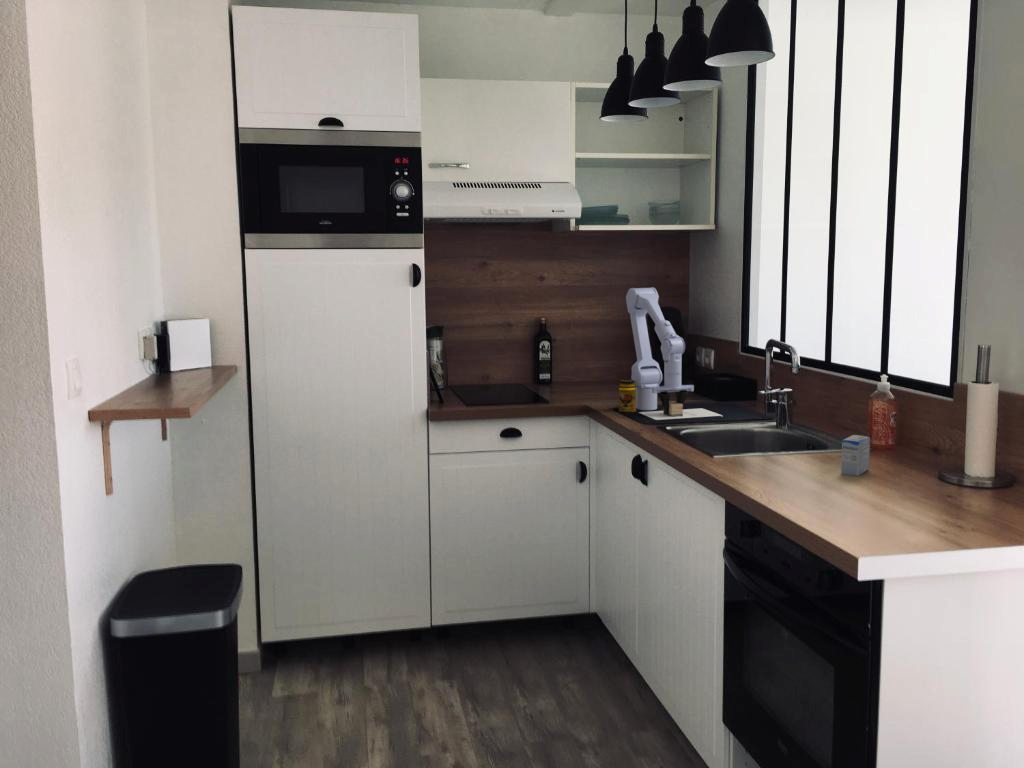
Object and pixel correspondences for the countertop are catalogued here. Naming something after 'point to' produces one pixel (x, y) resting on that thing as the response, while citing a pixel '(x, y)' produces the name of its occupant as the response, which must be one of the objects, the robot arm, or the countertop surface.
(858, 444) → the medicine box
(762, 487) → the countertop surface
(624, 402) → the condiment
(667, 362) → the robot arm
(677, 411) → the cork block
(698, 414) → the board
